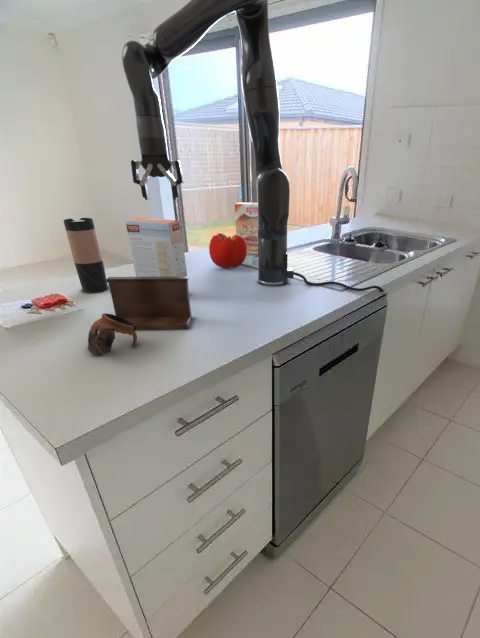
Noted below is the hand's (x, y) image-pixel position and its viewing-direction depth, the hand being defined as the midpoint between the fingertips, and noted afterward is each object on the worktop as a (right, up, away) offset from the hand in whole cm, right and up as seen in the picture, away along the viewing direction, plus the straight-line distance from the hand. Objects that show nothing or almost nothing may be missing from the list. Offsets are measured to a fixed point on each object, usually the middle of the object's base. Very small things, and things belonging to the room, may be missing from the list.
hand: (161, 199), depth 113 cm
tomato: (+17, -13, +26) cm, 34 cm away
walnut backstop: (+5, -41, -22) cm, 47 cm away
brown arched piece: (+1, -48, -34) cm, 59 cm away
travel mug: (-21, -27, +1) cm, 34 cm away
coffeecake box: (+25, -1, +47) cm, 53 cm away
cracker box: (+2, -30, -2) cm, 30 cm away
